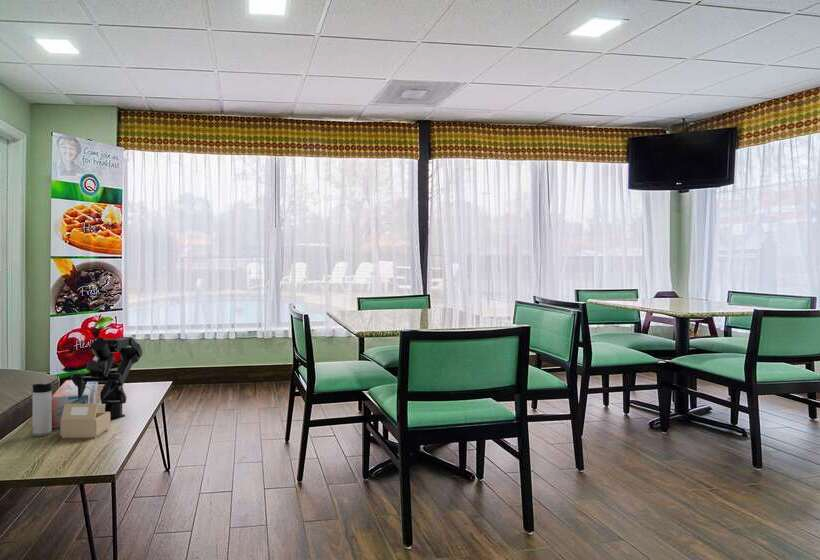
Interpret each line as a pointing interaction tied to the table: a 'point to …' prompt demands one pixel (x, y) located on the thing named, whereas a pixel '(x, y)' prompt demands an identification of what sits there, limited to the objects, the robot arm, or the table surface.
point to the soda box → (71, 398)
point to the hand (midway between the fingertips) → (91, 397)
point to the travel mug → (42, 410)
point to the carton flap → (79, 412)
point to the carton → (85, 426)
